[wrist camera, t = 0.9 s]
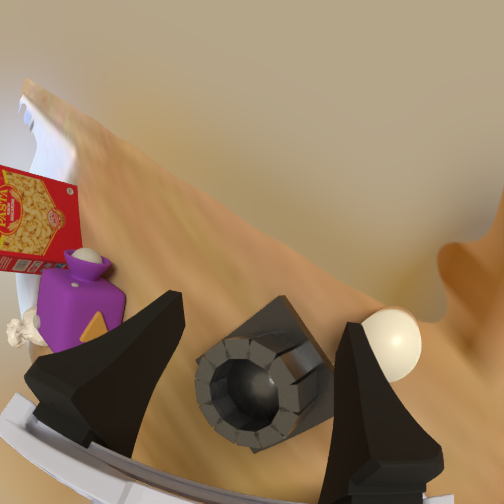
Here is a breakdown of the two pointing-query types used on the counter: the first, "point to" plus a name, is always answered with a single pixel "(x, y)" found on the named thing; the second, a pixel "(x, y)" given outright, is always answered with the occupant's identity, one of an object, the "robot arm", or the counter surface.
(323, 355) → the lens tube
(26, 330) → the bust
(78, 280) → the toy camera
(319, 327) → the counter surface
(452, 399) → the counter surface
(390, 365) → the plug
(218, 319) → the counter surface
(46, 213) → the food packaging
